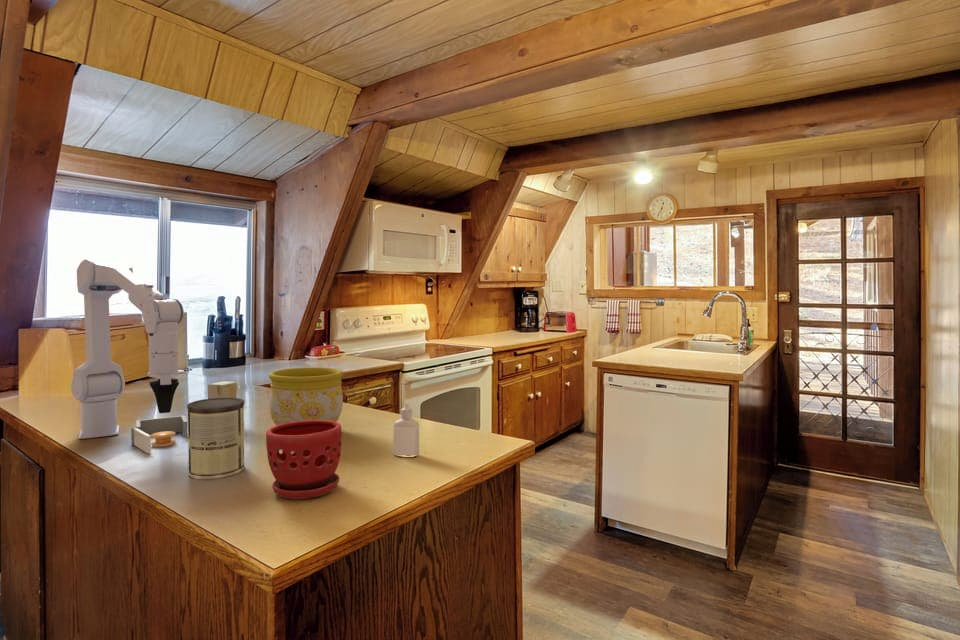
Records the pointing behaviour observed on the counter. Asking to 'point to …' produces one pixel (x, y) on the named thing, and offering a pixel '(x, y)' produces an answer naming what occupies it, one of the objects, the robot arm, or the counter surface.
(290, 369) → the flowerpot
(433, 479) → the counter surface
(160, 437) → the door knob
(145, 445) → the cover
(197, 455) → the coffee can
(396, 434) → the eye dropper bottle
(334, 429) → the plant pot
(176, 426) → the open grey tray
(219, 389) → the skincare box
